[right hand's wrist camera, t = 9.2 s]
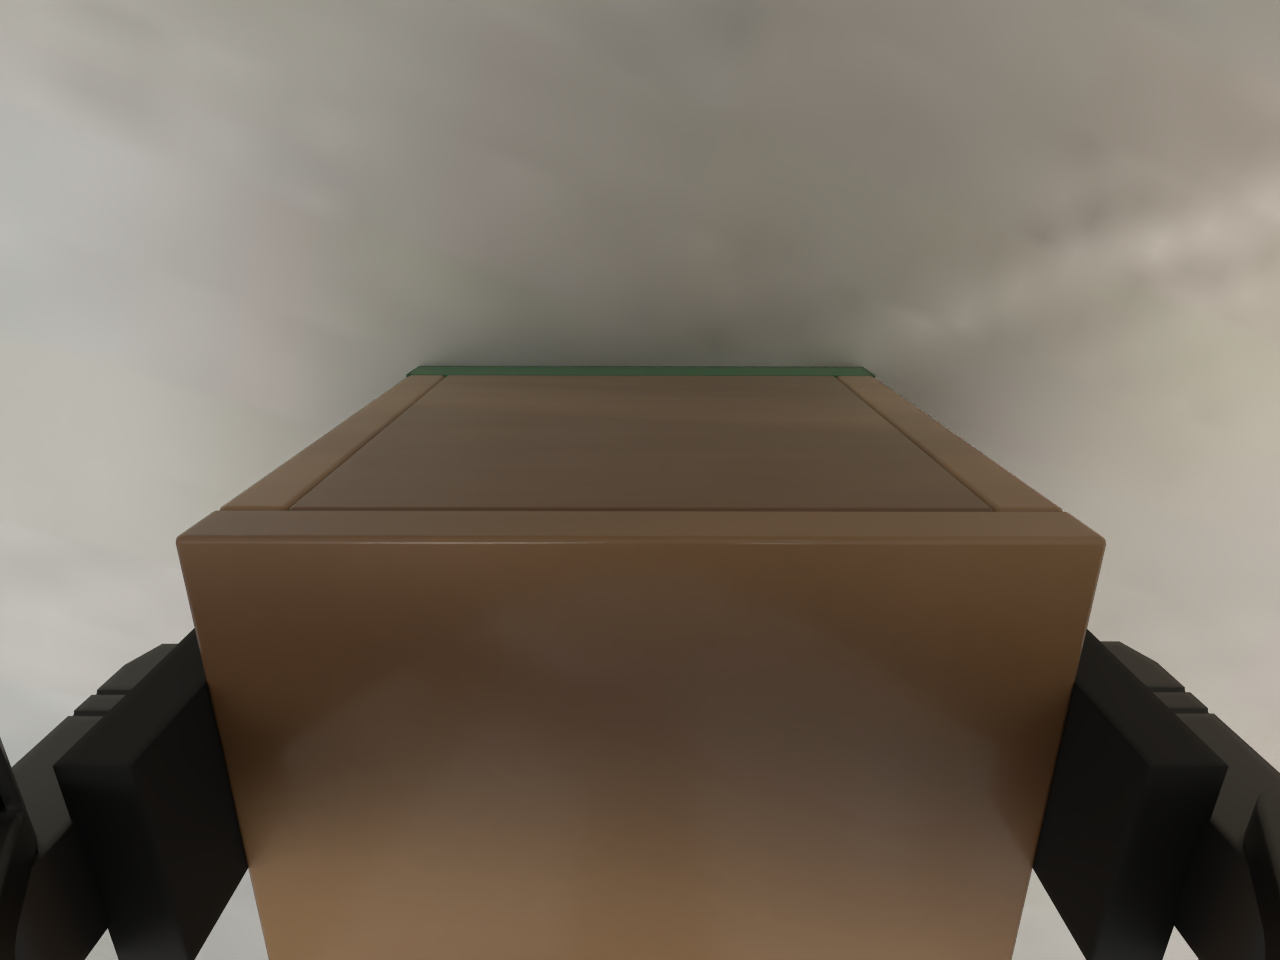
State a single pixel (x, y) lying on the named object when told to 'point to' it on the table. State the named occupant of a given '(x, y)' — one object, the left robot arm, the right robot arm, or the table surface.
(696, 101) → the table surface
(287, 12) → the table surface
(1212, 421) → the table surface
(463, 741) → the cabinet
